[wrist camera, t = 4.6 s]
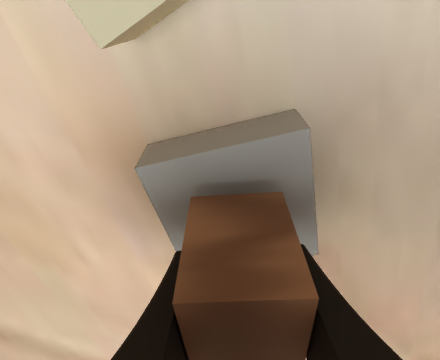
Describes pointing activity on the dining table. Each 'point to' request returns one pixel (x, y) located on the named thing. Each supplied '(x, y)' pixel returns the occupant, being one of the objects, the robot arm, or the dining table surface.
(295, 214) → the base block
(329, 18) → the dining table surface
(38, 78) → the dining table surface
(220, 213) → the walnut block
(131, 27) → the sage block
